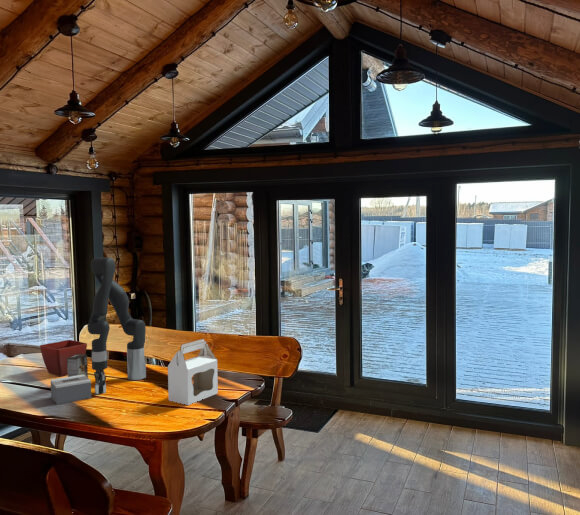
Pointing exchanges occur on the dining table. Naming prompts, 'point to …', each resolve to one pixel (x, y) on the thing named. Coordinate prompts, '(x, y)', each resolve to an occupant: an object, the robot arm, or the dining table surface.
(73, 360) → the coffee box
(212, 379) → the gable box
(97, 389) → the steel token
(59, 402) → the box
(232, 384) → the dining table surface
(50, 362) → the plant pot
